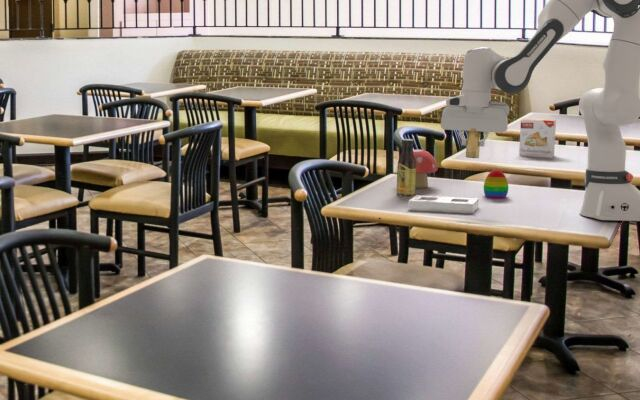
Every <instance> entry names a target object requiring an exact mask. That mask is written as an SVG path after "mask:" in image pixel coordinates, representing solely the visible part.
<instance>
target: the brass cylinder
mask: <svg viewBox="0 0 640 400" xmlns="http://www.w3.org/2000/svg"><path fill="white" fill-rule="evenodd" d="M481 132H482V131H476V129H471V130H470V131H467V132H466V139H467V145H465V147H466V150H465V158H467V159H479V158H480V147H481V146H479V144H480V143H479V141H480V140H481Z"/></svg>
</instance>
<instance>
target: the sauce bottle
mask: <svg viewBox="0 0 640 400" xmlns="http://www.w3.org/2000/svg"><path fill="white" fill-rule="evenodd" d="M414 144H415V140H414V139H412V138H402V139H401V153H400V155H399V157H398V158H399V159H398V161H397V167H396V169H397V173H396V174H397V175H396V195H397V196H399V195H401V196H400V197H412V196H413V195H414V196H415V195H416V188H415V180H416V159H415V157H414V155H413V150H414ZM414 196H413V197H414Z"/></svg>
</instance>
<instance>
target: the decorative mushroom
mask: <svg viewBox="0 0 640 400" xmlns="http://www.w3.org/2000/svg"><path fill="white" fill-rule="evenodd" d="M413 155H414V157H415V159H416V180H415V189H425V188H427V187H428V186H429V185H428V184H429V183H428V182H429V181H428V174H432V173H435V172H437V171H438V164H437V160H436V159H435V157H434V155H432V154H431V153H430V152H429V151H426V150H425V149H418V148H417V149H413Z"/></svg>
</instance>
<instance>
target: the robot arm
mask: <svg viewBox="0 0 640 400" xmlns="http://www.w3.org/2000/svg"><path fill="white" fill-rule="evenodd" d="M591 12H592V13H594V14H595V15H598V16H599V17H602V18H606V19H607V18H608V19H609V18H612V21H613V31H612V34H611V37H610V39H609V44H608V47H607V50H606V54H605V57H604V60H603V63H602V68H603V70H604V86H603V87H596V88H592V89H590V90H587V91H585V92H584V93H583V94H582V95H581V97H580V99H579V102H578V110H579V113H580V114H581V117H582V118H583V120H584V125H585V126H584V127H585V131H586V136H587V137H586V138H587V168H586V169H585V173H584V187H585V189H584V190H585V191H584V196H583V201H582V205H581V208H580V212H579V215H581V216H584V217H588V218H593V219H597V220H601V221H620V222H621V221H626V222H628V221H629V222H640V190H639V189H638V188H637V187H636V186H635V185H633V184H632V183H631V182H632V180H633V179H634V175H633V174H632V173H630V172H629V171H627V170H626V154H627V144H626V142H625V141H624V139H623V136H622V132H621V127H623V126H628V125H631V124H633V123H635V122H637V120H638V119H639V118H640V96H639V95H640V94H639V90H640V88H639V87H640V84H639V83H640V0H548V2H546V4H545V5H544V6H543V8H542V10H541V11H540V13H539V14H538V16H537V24H538V25H537V29H536V30H535V31H536V32H535V33H534V35H533V36H532V37H531V38H530V39H529V40H528V42H527V43H526V44H525V45H524V46H523V47H522V49H520V51H519V52H518V53H517V54H515V55H514V56H513V57H511V58H507V57H504V56H503V55H501V54H499V53H497V52H496V51H494V50H493V48H491V47H488V46H482V47H474V48H471V49H469V50H467V51H466V53H465V55H464V58H463V63H462V73H461V74H462V87H461V93H460V94H459V95H455V96H453V97H449V98H447V99H446V101H445V104H446V106H445V107H444V108H443V110H442V113H441V118H440V119H441V120H440V127H441V129H442V130H444V131H445V130H446V131H447V130H448V131H458V133H457V134H458V136H459V137H460V140H461V146H467V138H466V139H465V137H464V134H465V131H470V130H471V129H476V131H481V132H482V133H483V134H482V135H483V136H484V137H483V138H482V140H481V139H480V141H479V143H480V144H479V146H480V147H482V148H483V147H485V146H486V145H485V144H486V140H487V139H488V137H489V134H490V133H503V134H504V133H506V132H507V131H508V126H509V125H508V121H509V120H508V116H509V115H510V110H511V108H510V106H509V104H508V103H505V102H504V101H491V95H492V93H491V91H492V89H497V90H499V91H502V92H504V93H506V94H517V93H520V92H522V91H523V90H525V88H526V87H527V86H528V84H529V83H530V80H531V78H532V74H533V71H534V70H535V68H536V67H537V66H538V64H539V63H540V62H541V61H542V60H543V59H544V57H545V56H546V55H547V54H548V53H549V52H550V51H551V49H553V47H554V46H555V45H556V44H557V43H558V42H560V41H561V40H562V39H563V38H564V37H566V35H568V34H569V33H570V32H571V31H572V30H573V29H574V28H575V27H577V26H578V24H579V23H580V22H581V20H583V18H584V17H585V16H587V14H589V13H591Z"/></svg>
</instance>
